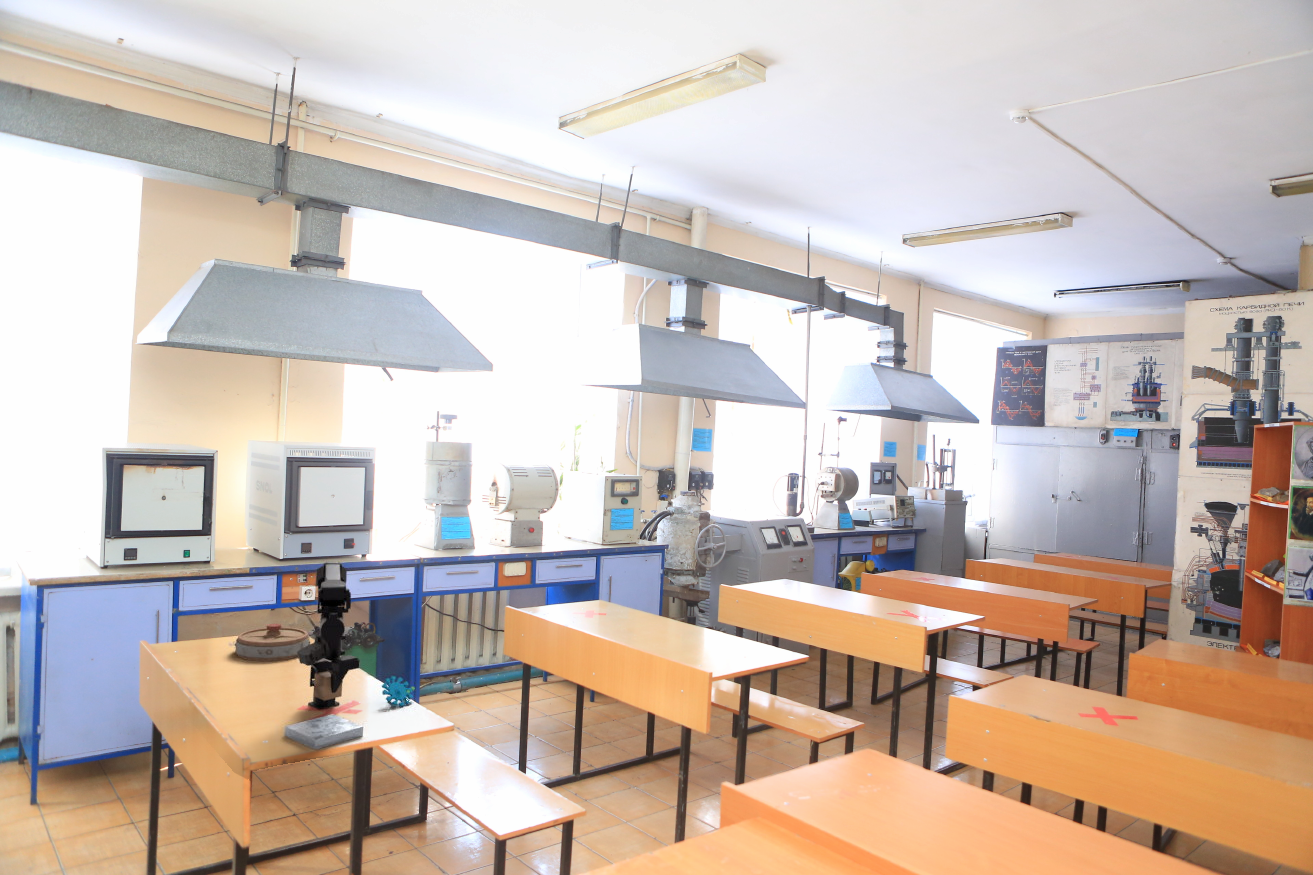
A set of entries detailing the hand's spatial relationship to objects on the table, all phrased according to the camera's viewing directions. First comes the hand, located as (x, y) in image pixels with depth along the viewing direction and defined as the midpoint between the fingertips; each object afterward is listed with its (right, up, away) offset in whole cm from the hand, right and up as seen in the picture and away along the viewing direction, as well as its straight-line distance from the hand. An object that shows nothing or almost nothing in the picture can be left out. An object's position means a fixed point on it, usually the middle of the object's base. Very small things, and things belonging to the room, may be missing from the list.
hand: (327, 690), depth 224 cm
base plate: (-1, -12, 0) cm, 12 cm away
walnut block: (0, -2, 0) cm, 2 cm away
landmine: (-50, -10, +77) cm, 92 cm away
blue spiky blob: (+10, -13, +29) cm, 33 cm away
